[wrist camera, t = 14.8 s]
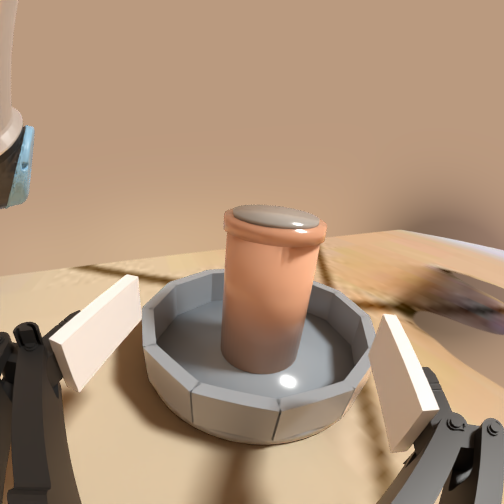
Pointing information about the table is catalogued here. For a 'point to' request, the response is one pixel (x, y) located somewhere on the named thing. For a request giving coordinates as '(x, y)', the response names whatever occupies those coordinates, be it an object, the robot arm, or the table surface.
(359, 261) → the table surface
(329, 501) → the table surface
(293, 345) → the terracotta jar
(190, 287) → the slate bowl
